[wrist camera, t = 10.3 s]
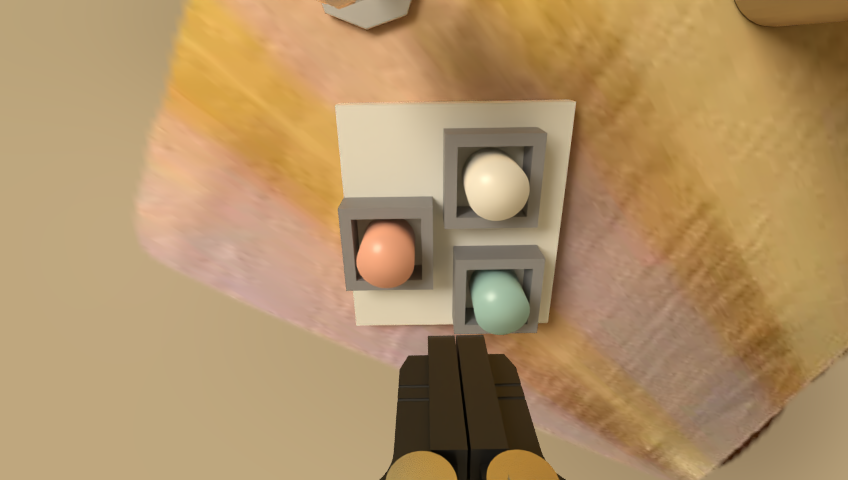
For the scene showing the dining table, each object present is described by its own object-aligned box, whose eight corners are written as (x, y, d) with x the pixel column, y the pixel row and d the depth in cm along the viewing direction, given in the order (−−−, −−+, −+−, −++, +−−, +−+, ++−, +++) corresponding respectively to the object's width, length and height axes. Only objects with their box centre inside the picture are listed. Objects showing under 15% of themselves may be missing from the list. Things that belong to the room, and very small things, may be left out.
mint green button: (519, 261, 40) (532, 288, 35) (515, 304, 42) (527, 334, 37) (469, 262, 40) (476, 288, 35) (468, 304, 42) (474, 335, 37)
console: (568, 99, 36) (589, 105, 32) (542, 312, 45) (556, 340, 40) (339, 102, 36) (327, 109, 32) (359, 314, 45) (351, 343, 41)
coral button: (414, 214, 38) (413, 236, 33) (415, 261, 40) (415, 287, 35) (362, 215, 38) (354, 237, 33) (366, 262, 40) (358, 288, 35)
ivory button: (518, 146, 35) (532, 160, 31) (514, 200, 37) (526, 220, 33) (462, 147, 35) (468, 161, 31) (460, 201, 37) (466, 221, 33)
